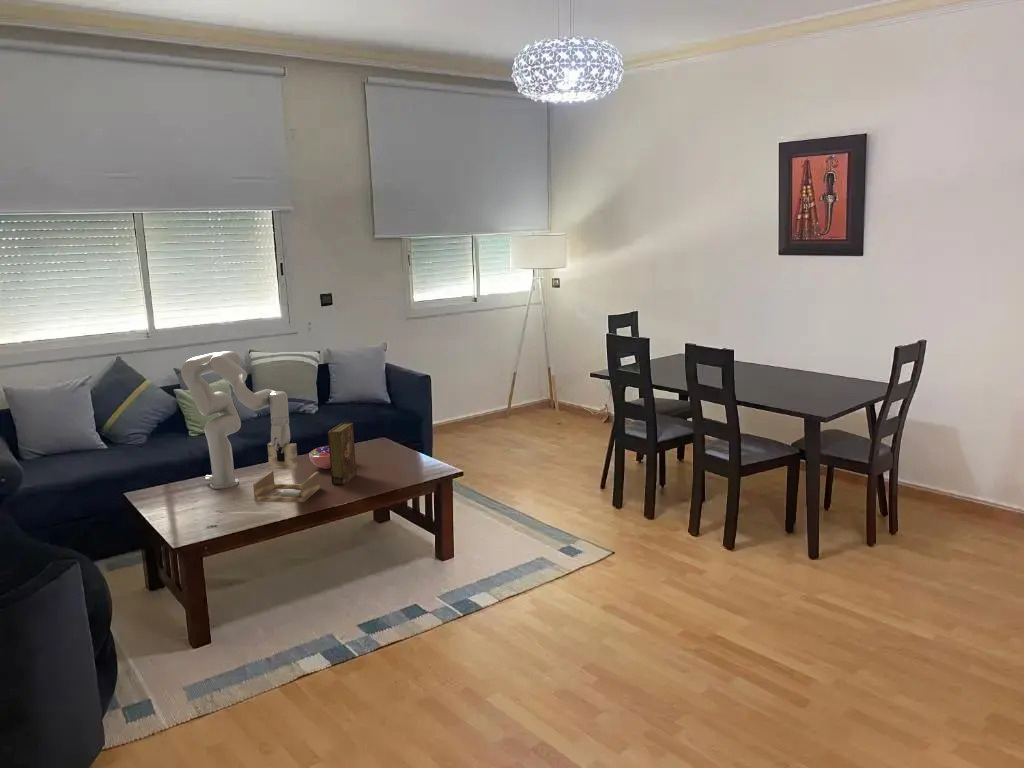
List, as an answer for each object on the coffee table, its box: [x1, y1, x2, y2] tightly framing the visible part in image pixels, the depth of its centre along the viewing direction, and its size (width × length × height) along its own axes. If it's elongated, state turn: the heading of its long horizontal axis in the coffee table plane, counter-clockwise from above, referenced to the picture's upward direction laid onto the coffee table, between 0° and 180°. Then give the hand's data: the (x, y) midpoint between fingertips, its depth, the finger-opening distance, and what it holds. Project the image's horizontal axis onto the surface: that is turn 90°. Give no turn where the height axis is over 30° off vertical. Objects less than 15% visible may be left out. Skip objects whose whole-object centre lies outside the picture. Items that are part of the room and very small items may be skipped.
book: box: [327, 422, 357, 486], centre depth 353 cm, size 16×6×25 cm, turn 168°
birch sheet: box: [266, 442, 299, 471], centre depth 340 cm, size 12×3×11 cm, turn 82°
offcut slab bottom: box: [272, 491, 301, 497], centre depth 337 cm, size 12×4×1 cm, turn 81°
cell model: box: [308, 445, 331, 470], centre depth 374 cm, size 17×20×11 cm
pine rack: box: [252, 470, 321, 503], centre depth 337 cm, size 22×17×8 cm
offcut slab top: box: [280, 489, 301, 497], centre depth 337 cm, size 8×4×1 cm, turn 81°
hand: (282, 459), depth 340 cm, fingers closed on birch sheet, 3 cm apart
